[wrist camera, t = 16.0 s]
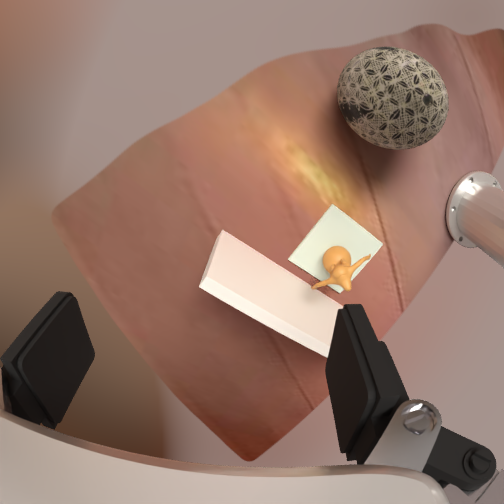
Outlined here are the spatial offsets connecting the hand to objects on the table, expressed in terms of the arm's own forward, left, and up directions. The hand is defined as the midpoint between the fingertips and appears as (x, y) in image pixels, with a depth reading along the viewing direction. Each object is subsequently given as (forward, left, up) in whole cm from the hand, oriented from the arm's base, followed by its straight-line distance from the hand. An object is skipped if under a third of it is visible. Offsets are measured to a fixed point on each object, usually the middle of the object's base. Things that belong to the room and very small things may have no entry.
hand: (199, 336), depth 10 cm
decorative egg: (-16, -10, -32) cm, 37 cm away
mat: (-12, +11, -32) cm, 36 cm away
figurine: (-12, +11, -32) cm, 35 cm away
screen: (-6, +16, -32) cm, 36 cm away
